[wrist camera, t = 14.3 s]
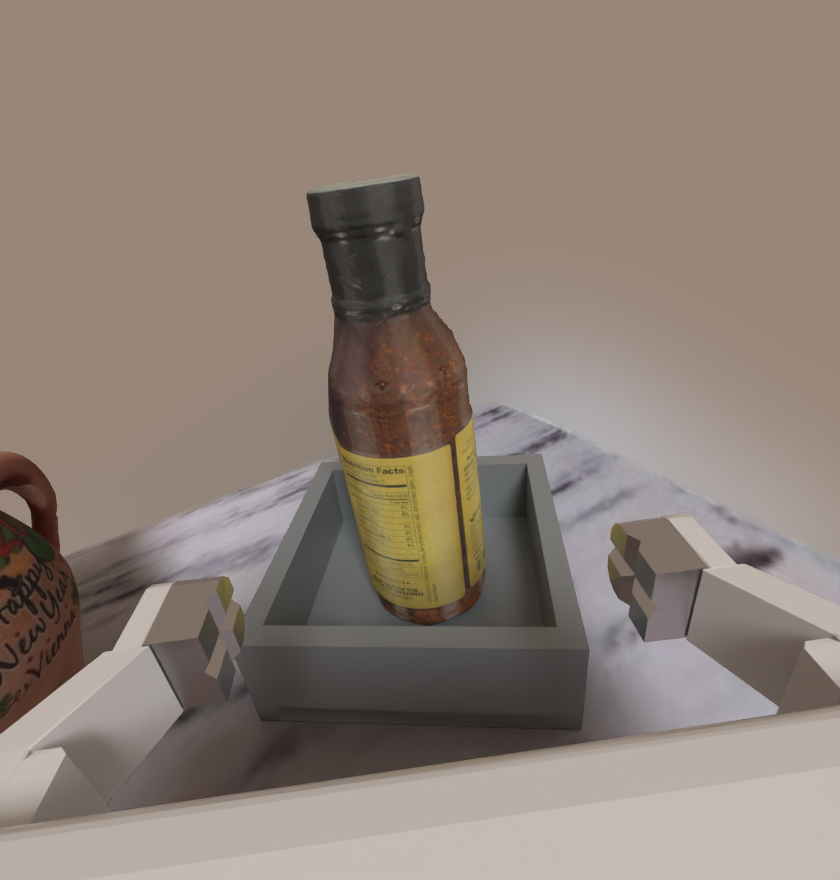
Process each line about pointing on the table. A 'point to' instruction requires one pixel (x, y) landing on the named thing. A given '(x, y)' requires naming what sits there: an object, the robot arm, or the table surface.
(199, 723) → the table surface
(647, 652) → the table surface
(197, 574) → the table surface
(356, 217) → the sauce bottle
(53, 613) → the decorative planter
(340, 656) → the tray
